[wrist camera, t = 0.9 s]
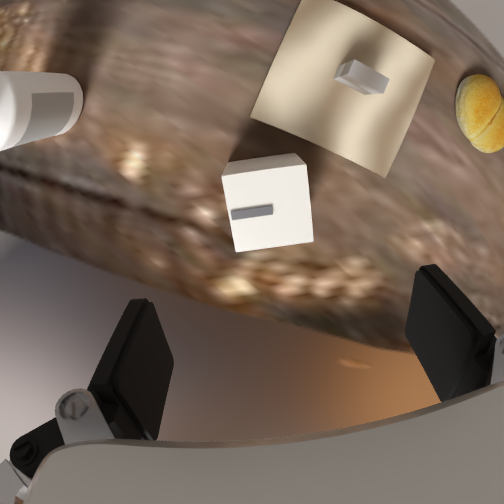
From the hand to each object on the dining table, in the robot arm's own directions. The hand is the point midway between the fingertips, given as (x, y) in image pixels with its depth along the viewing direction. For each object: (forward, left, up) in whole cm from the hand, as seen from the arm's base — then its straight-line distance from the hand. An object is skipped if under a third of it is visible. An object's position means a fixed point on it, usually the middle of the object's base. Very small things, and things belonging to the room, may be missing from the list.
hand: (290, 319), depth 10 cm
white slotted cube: (-1, +1, -21) cm, 21 cm away
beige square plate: (-3, -12, -21) cm, 25 cm away
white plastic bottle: (+23, -1, -21) cm, 32 cm away
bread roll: (-20, -18, -22) cm, 34 cm away
